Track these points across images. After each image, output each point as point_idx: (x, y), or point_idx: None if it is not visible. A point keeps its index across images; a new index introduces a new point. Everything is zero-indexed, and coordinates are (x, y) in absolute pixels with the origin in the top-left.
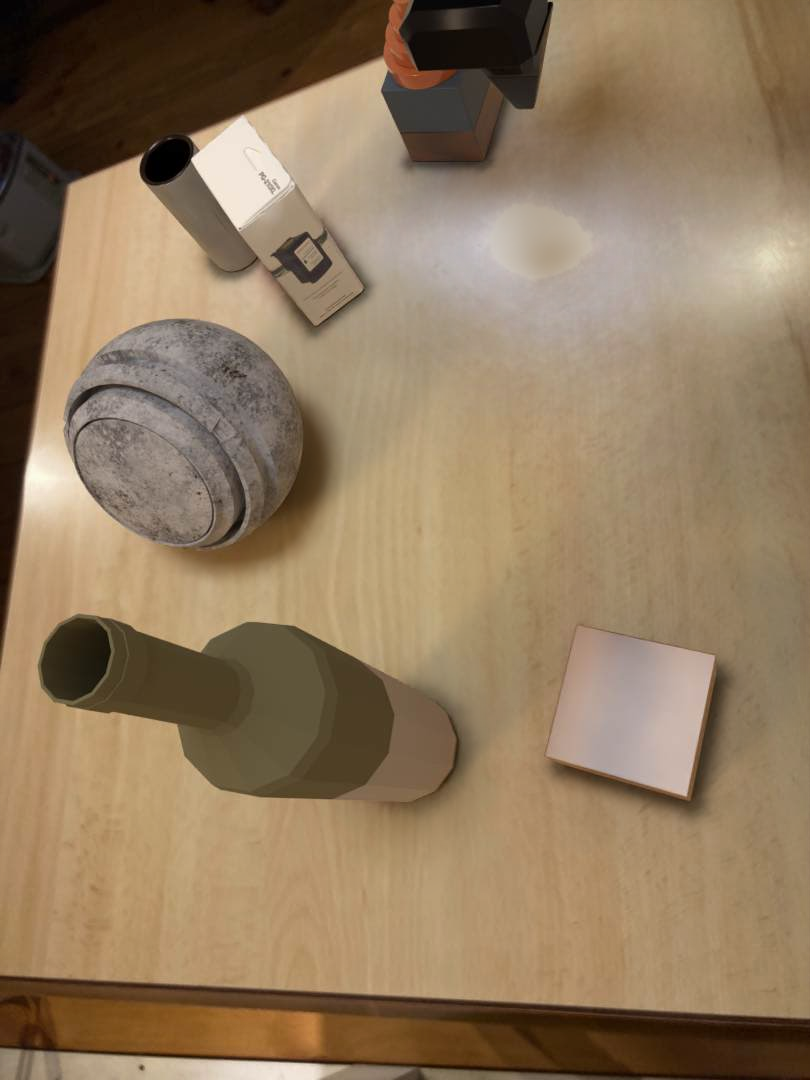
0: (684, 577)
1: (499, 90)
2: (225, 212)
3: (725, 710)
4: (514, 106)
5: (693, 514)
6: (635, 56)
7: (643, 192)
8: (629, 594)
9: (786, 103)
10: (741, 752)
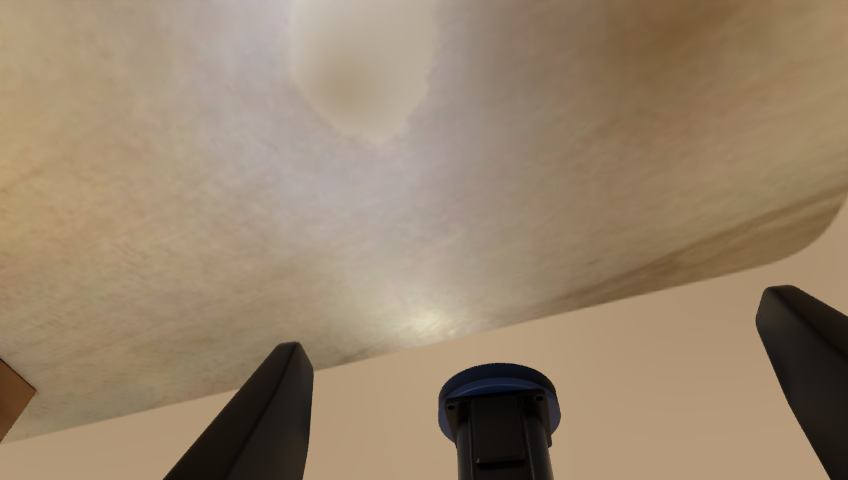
0: (81, 355)
1: (212, 421)
2: None
3: None
4: (273, 351)
5: (136, 345)
6: (796, 54)
7: (494, 175)
8: (27, 328)
9: (650, 280)
10: None
